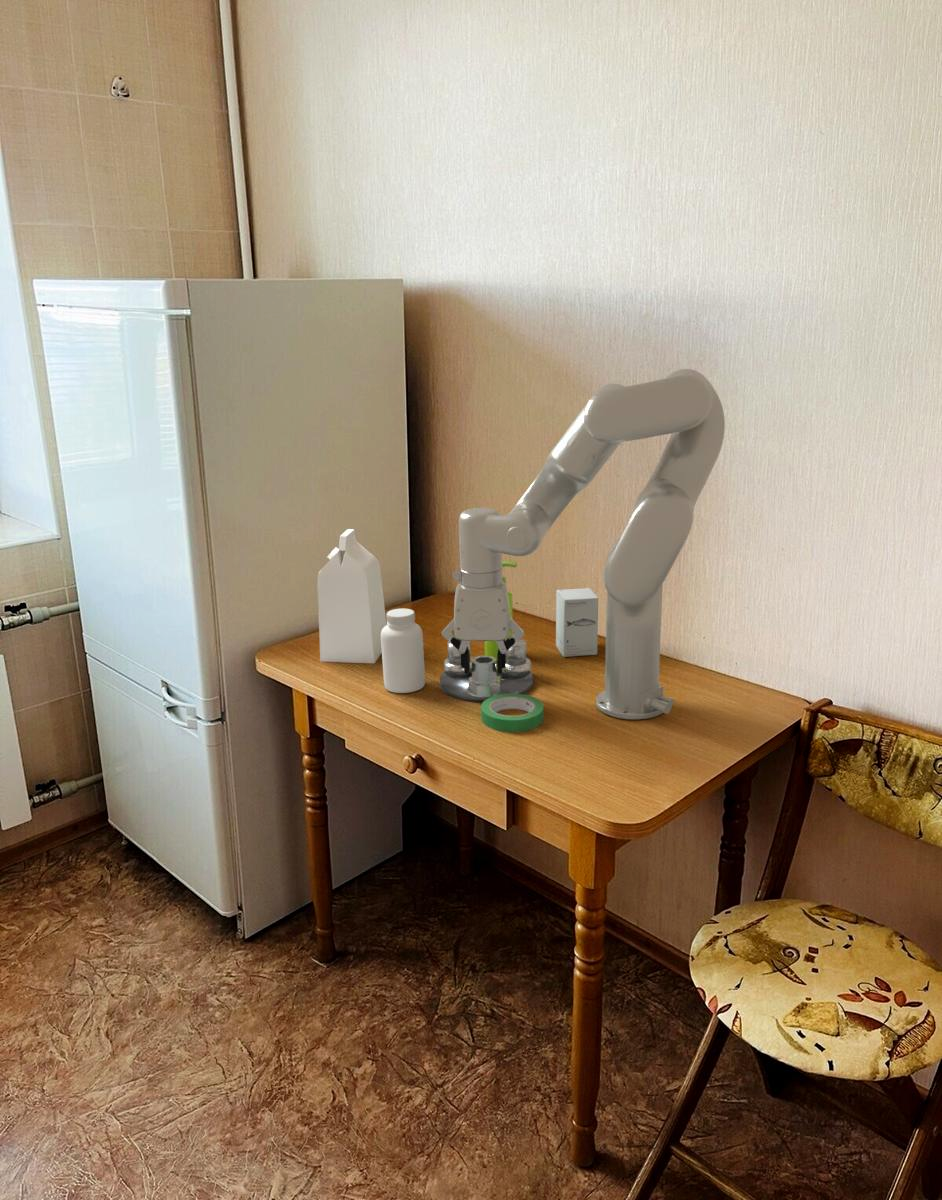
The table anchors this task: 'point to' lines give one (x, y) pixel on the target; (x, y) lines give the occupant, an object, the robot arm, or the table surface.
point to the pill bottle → (402, 652)
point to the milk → (350, 604)
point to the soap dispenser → (492, 646)
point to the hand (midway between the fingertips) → (483, 670)
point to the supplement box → (576, 622)
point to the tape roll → (512, 722)
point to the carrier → (512, 677)
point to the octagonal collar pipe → (484, 677)
